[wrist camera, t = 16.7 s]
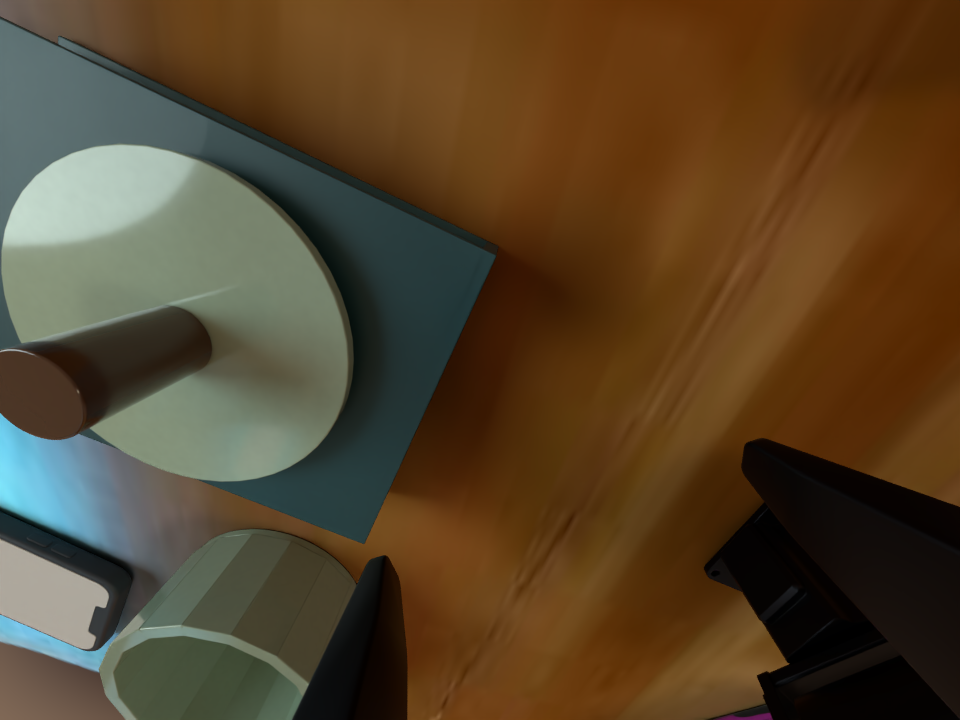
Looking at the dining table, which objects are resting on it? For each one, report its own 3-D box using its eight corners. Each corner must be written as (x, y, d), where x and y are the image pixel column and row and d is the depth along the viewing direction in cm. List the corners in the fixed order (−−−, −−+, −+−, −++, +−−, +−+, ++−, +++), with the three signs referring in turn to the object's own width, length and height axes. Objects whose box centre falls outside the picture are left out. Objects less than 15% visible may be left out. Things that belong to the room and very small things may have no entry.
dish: (329, 518, 25) (273, 618, 19) (384, 649, 29) (352, 764, 23) (158, 539, 26) (54, 636, 20) (234, 660, 31) (167, 770, 25)
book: (498, 246, 18) (496, 255, 14) (386, 492, 24) (363, 544, 20) (68, 38, 16) (-63, -13, 13) (56, 359, 22) (-36, 389, 18)
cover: (383, 206, 14) (298, 203, 8) (339, 495, 19) (266, 619, 13) (7, 101, 14) (-359, 22, 8) (60, 425, 19) (-140, 522, 13)
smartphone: (-92, 545, 29) (116, 637, 31) (-125, 563, 27) (95, 659, 29) (-90, 461, 26) (140, 568, 28) (-128, 476, 24) (119, 588, 26)
